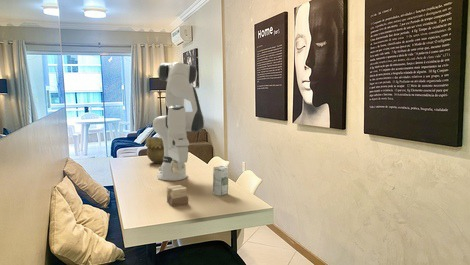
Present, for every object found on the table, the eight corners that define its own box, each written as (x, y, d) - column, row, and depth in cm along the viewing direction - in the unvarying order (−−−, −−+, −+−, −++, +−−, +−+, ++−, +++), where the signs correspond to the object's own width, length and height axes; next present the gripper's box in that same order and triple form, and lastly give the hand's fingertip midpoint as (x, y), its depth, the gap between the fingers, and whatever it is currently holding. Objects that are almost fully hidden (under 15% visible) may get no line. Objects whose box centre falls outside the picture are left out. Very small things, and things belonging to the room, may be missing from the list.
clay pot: (155, 159, 281) (154, 134, 279) (179, 161, 274) (178, 135, 272) (139, 164, 262) (139, 137, 260) (164, 166, 255) (164, 138, 252)
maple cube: (171, 171, 169) (170, 161, 168) (181, 171, 171) (181, 160, 171) (173, 174, 165) (173, 163, 164) (184, 173, 167) (184, 162, 166)
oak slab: (167, 195, 170) (167, 186, 170) (180, 192, 174) (180, 185, 174) (173, 198, 165) (173, 190, 164) (186, 196, 168) (186, 188, 168)
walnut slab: (167, 202, 172) (166, 194, 171) (182, 200, 175) (182, 192, 175) (171, 207, 164) (171, 199, 164) (188, 205, 168) (188, 196, 168)
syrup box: (220, 192, 190) (220, 165, 188) (228, 194, 186) (228, 166, 184) (212, 194, 185) (212, 166, 184) (221, 196, 181) (221, 168, 180)
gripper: (164, 137, 174) (165, 165, 176) (176, 143, 156) (177, 174, 157) (177, 137, 177) (177, 164, 178) (190, 142, 159) (190, 172, 160)
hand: (177, 169), depth 168 cm, fingers closed on maple cube, 5 cm apart
